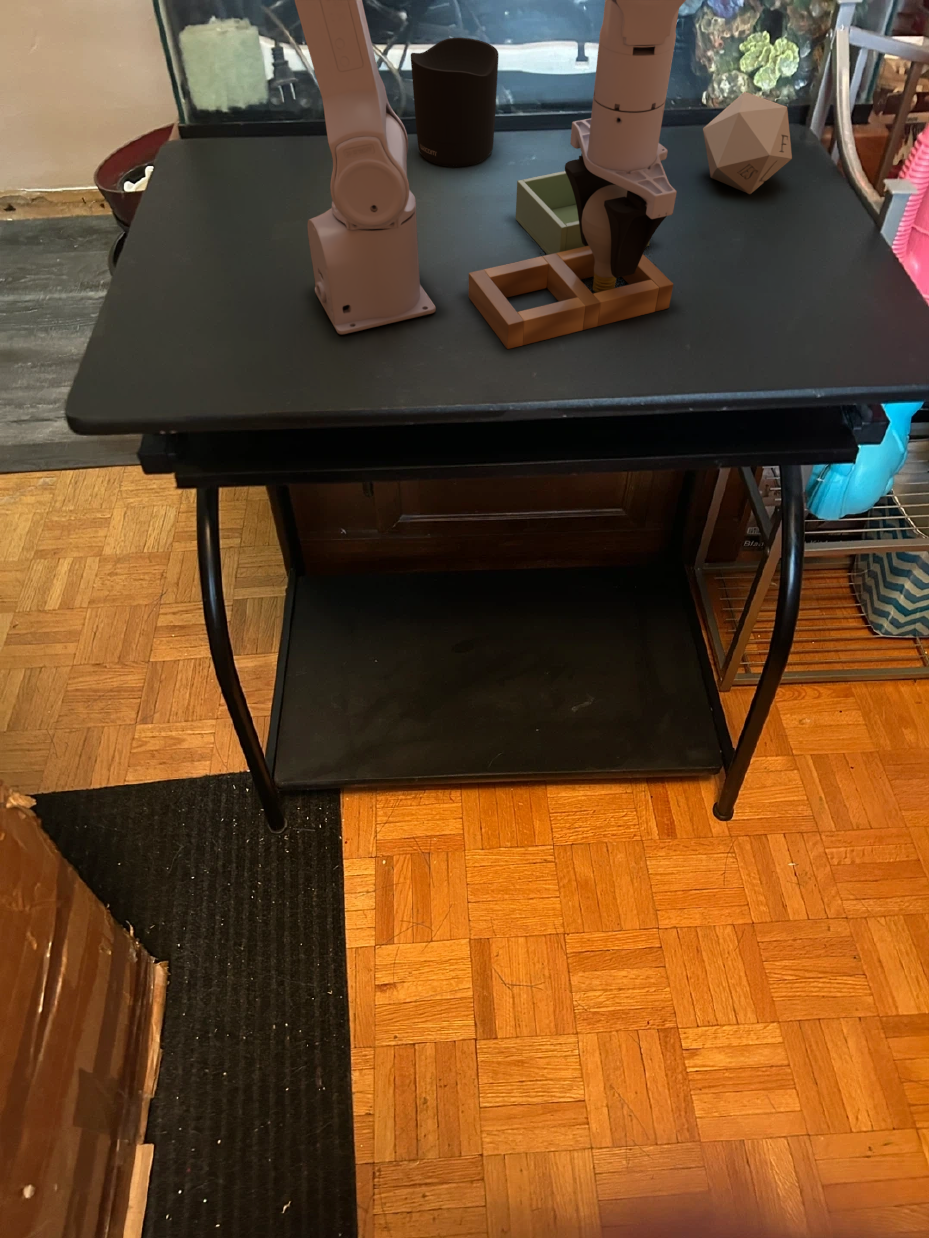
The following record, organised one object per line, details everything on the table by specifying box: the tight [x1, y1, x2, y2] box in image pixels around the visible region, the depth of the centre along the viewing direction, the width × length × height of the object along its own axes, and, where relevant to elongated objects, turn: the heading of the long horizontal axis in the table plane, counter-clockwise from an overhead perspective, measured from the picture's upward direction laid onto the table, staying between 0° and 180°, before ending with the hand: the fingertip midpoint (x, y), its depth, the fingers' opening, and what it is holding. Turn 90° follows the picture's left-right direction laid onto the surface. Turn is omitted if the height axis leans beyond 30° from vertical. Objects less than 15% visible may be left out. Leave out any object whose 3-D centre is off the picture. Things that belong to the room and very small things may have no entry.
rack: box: [468, 246, 674, 350], centre depth 82 cm, size 16×9×2 cm, turn 112°
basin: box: [515, 170, 651, 255], centre depth 89 cm, size 10×10×4 cm
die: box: [702, 91, 793, 195], centre depth 94 cm, size 8×9×10 cm
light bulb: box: [582, 185, 628, 293], centre depth 79 cm, size 5×5×10 cm
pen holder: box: [410, 37, 499, 168], centre depth 98 cm, size 9×9×10 cm
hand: (608, 258), depth 81 cm, fingers closed on light bulb, 5 cm apart
